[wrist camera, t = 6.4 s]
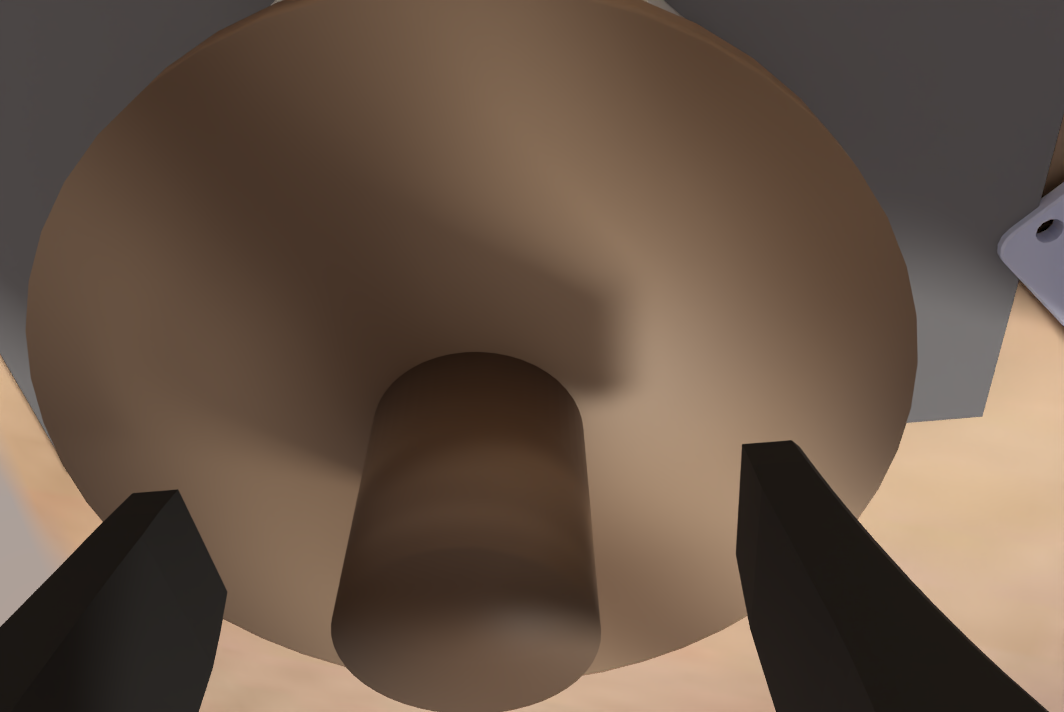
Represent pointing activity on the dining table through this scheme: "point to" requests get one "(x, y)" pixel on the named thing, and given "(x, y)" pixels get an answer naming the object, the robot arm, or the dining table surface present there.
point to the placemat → (731, 14)
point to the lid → (468, 329)
